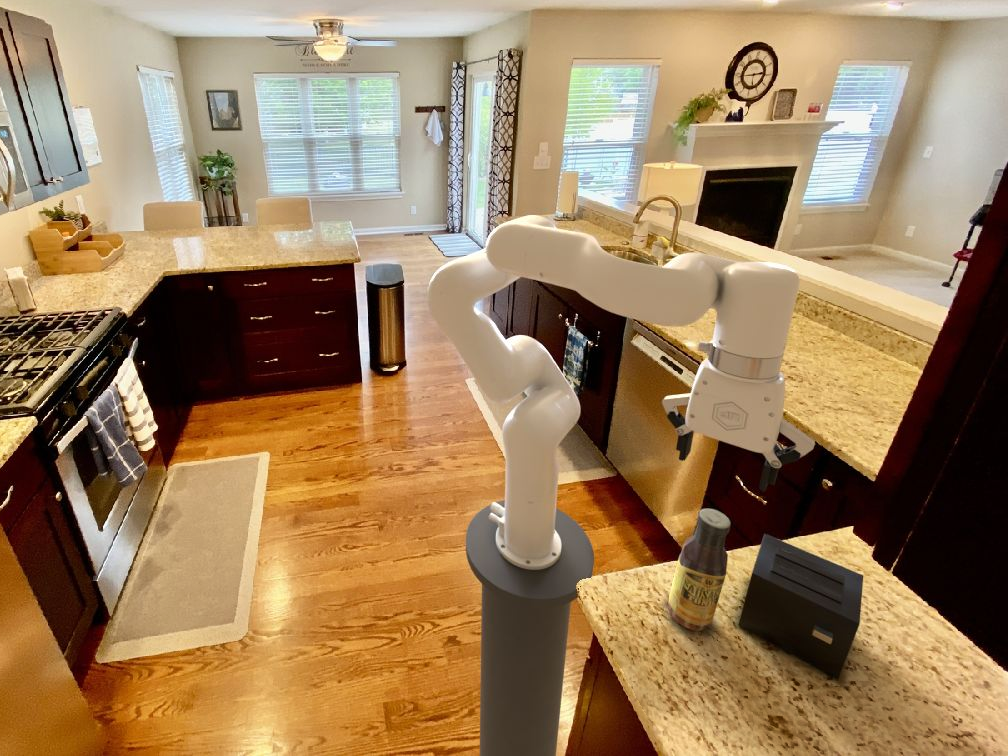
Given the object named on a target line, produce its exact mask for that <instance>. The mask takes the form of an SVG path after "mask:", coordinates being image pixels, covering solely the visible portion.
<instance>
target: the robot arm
mask: <svg viewBox="0 0 1008 756" xmlns="http://www.w3.org/2000/svg"><path fill="white" fill-rule="evenodd" d="M485 242H486V243H485V247H484V248H482V249H481V250H478V251H476V252H473V253H470V254H468V255H465V256H462V257H459V258H457V259H454V260H452V261H450V262H448V263H446V264H444V265H442V266H441V267H440V268H439V269H437V270H436V272H434V274H433V276H432V277H431V278H430V281H429V284H428V286H427V294H426V295H427V296H426V297H427V304H428V305H427V306H428V308H429V311H430V314H431V317H432V318H433V319H434V321H435V323H436V324H437V326H438V327H439V328H440V330H441V331H442V332H443V334H445V336H446V337H447V338H448V339H449V341H450V342H451V343H452V345H453V346H454V348H455V349H456V351H457V352H458V355H459V356H460V358H461V359H462V360H463V362H464V364H465V365H466V367H467V368H468V370H469V372H470V374H471V375H472V377H473V378H474V379H475V381H476V383H477V384H478V386H479V388H480V389H481V390H482V392H483V393H484V394H485V396H486V397H487V398H488V399H489V400H490V401H492V402H494V403H496V404H497V403H498V404H505V403H506V404H507V403H509V402H511V401H512V400H514V399H516V398H517V397H519V396H520V395H521V394H523V393H524V394H525V395H526V397H525V398H524V399H523V400H521V401H520V402H519V403H518V404H517V405H516V406H515V407H514V408H513V409H512V410H511V411H510V412H509V413H508V415H507V416H506V418H505V420H504V421H503V424H502V428H501V437H502V442H503V448H504V452H505V453H504V454H505V487H504V500H505V508H503V507H502V506H501V505H499V504H497V503H496V502H495V501H493V502H492V503H491V504H490V505H491V507H490V511H492V512H494V513H496V514H497V515H500V516H502V517H501V518H499V517H498V516H497V515H495V514H493V513H490V515H489V519H490V520H492V521H493V522H496V523H497V524H498V526H499V527H498V529H497V532H496V545H497V548H498V550H499V552H500V553H501V554H502V556H503V557H504V558H505V559H506V560H508V561H509V562H510V563H512V564H514V565H516V566H518V567H521V568H524V569H530V570H540V569H545V568H547V567H550V566H552V565H553V564H554V563H556V561H557V560H558V559H559V557H560V555H561V547H562V544H561V539H560V537H559V535H558V533H557V532H556V531H555V516H556V508H557V504H558V503H557V501H558V489H559V463H558V459H557V456H556V455H557V449H558V447H559V445H560V443H562V441H563V440H564V439H565V437H566V436H567V434H569V432H571V430H572V429H573V428H574V427H575V425H576V424H577V422H578V421H579V419H580V416H581V404H580V400H579V397H578V396H577V394H576V392H575V390H574V389H573V387H572V385H571V384H570V382H569V381H568V380H567V377H565V375H564V373H563V372H562V371H561V369H560V367H559V366H558V364H557V363H556V361H555V360H554V359H553V356H552V355H551V354H550V352H549V351H548V350H547V349H546V347H545V346H544V345H543V344H542V343H540V342H539V341H538V340H537V339H536V338H533V337H531V336H528V335H524V334H523V335H522V334H518V335H514V336H510V337H509V338H507V339H506V338H505V337H504V336H503V335H502V333H501V331H500V329H499V327H497V325H496V323H495V322H494V321H493V320H492V319H491V318H490V317H489V316H488V315H487V314H485V313H484V312H482V311H481V310H480V309H477V307H476V303H478V302H480V301H482V300H483V299H486V298H488V297H490V296H492V295H493V294H495V293H498V292H500V291H501V290H503V289H505V288H507V287H509V285H511V284H513V283H514V282H515V281H517V280H519V279H520V278H525V279H528V280H529V279H530V280H535V281H537V282H538V281H539V282H543V283H546V284H550V285H554V286H558V287H562V288H564V289H565V288H566V289H570V290H571V291H572V290H573V291H575V292H577V293H578V294H579V295H580V296H581V297H583V298H584V299H585V300H587V301H589V302H591V303H592V304H594V305H595V306H597V307H599V308H600V309H603V310H604V311H607V312H610V313H612V314H615V315H618V316H622V317H624V318H629V319H633V320H637V321H641V322H643V323H649V324H652V325H656V326H663V327H675V328H678V327H685V326H688V325H692V324H694V323H696V322H698V321H699V320H700V319H702V318H703V317H704V316H705V315H706V314H707V313H708V312H709V310H710V309H711V310H712V309H713V310H714V311H716V319H715V325H714V330H713V335H712V339H711V340H710V341H708V340H707V341H702V340H700V341H699V344H698V348H697V349H698V352H699V351H700V352H703V353H705V354H706V355H707V357H706V358H705V359H704V360H702V361H701V363H700V365H699V367H698V369H697V372H696V375H695V377H694V381H693V384H692V387H691V390H690V393H689V392H688V393H681V394H672V395H666V396H664V398H663V399H662V400H661V404H662V406H663V409H664V412H665V413H666V414H667V415H666V417H667V419H668V421H669V422H670V423H671V425H672V426H673V428H674V429H675V433H676V434H677V440H676V447H675V450H676V451H678V452H679V454H678V460H679V461H681V462H684V461H686V459H687V458H688V456H689V455H690V453H691V451H692V444H693V440H694V439H693V438H694V434H695V433H698V434H699V435H701V436H705V437H708V438H711V439H713V440H717V441H720V442H723V443H726V444H729V445H731V446H734V447H737V448H738V447H739V448H740V449H744V450H747V451H751V452H754V453H759V454H762V455H763V456H764V458H765V462H764V464H763V468H762V472H761V477H760V481H759V485H758V489H759V490H760V491H762V492H766V490H767V487H768V484H769V485H771V486H775V484H776V481H777V477H778V473H779V470H780V468H781V467H782V466H785V465H789V464H791V463H795V462H798V461H799V460H800V459H802V457H804V456H806V455H808V454H809V453H810V452H811V451H813V450H814V448H815V445H816V441H815V440H814V439H813V438H812V437H810V436H809V435H807V433H804V432H803V431H802V430H800V429H799V428H797V427H796V426H795V425H793V424H792V423H790V422H789V421H787V419H785V418H784V417H783V415H784V410H785V409H784V408H785V402H786V400H785V399H786V377H785V374H784V373H783V372H781V368H782V362H783V358H784V354H785V349H786V345H787V340H788V336H789V333H790V327H791V324H792V319H793V315H794V310H795V304H796V301H797V296H798V294H799V293H798V292H799V287H800V276H799V275H798V273H797V272H796V271H795V270H794V269H792V268H790V267H788V266H786V265H782V264H778V263H773V262H763V261H745V262H744V261H738V260H735V259H729V258H725V257H721V256H717V255H714V254H713V255H712V254H708V253H703V252H695V251H694V252H685V253H682V254H679V255H676V256H674V257H673V258H672V259H671V260H669V261H668V262H667V263H666V264H664V265H663V266H660V265H653V264H648V263H643V262H638V261H633V260H631V259H626V258H622V257H619V256H616V255H613V254H612V253H609V252H607V251H606V250H605V249H603V248H602V247H601V245H600V244H599V243H598V240H597V238H595V236H594V235H591V234H589V233H586V232H580V231H572V230H566V229H561V228H557V227H556V226H555V224H554V223H553V222H552V221H551V220H549V219H548V218H547V217H545V216H541V215H537V214H535V215H534V214H531V215H524V216H522V217H521V216H520V217H518V218H515V219H511V220H509V221H505V222H503V223H501V224H500V225H498V226H497V227H495V228H494V229H493V230H492V231H491V233H490V234H489V235H488V238H487V240H486V241H485ZM681 406H687V408H686V413H685V417H684V416H683V415H682V413H681V412H680V411H679V409H678V407H681ZM779 434H782V435H784V437H785V438H788V439H789V440H790V441H792V442H793V443H794V445H793V446H789V447H785V448H782V447H781V445H780V444H779V443H778V439H779Z"/></svg>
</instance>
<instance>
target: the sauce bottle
mask: <svg viewBox="0 0 1008 756" xmlns="http://www.w3.org/2000/svg"><path fill="white" fill-rule="evenodd" d="M696 521H697V526H696V529H695V531H694V535H691V536H689V537H688V538H687V539H685V541H683V544H682V548H681V552H680V554H679V556H678V560H677V562H676V563H677V564H676V567H675V571H674V574H673V575H674V576H673V579H672V582H671V587H670V590H669V595H668V612H669V613H670V616H671V617H672V618H673V619H674V620H675V621H676V623H678V624H679V625H681V626H683V628H686V629H688V630H690V631H691V630H692V631H694V632H696V631H697V632H700V631H704V630H706V629H708V628H709V627H710V624H711V623H712V622H713V620H714V618H715V617H714V616H715V613H716V610H717V606H718V602H719V600H720V597H721V592H722V589H723V586H724V582H725V579H726V576H727V568H728V559H729V558H728V557H729V555H728V553H727V550H726V548H725V544H726V543H725V542H726V538H727V535H728V534H729V533H730V530H731V520H730V519H729V517H727V516H726V514H724V513H722V512H721V511H719V510H718V509H714V508H702V509H701V510H700V511H699V512H698V515H697V517H696Z"/></svg>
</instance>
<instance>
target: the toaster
mask: <svg viewBox="0 0 1008 756" xmlns="http://www.w3.org/2000/svg"><path fill="white" fill-rule="evenodd" d="M863 586H864V575H863V574H861V573H858V572H856V571H854V570H852V569H850V568H847V567H844V566H843V565H841V564H840V565H839V564H837V563H835V562H833V561H830V560H828V559H826V558H823V557H821V556H818V555H816V554H815V553H812V552H809V551H807V550H804V549H802V548H799V547H797V546H795V545H793V544H790V543H788V542H786V541H783V540H781V539H778V538H776V537H774V536H772V535H769V534H768V533H767V534H766V533H764V534H763V537H762V540H761V543H760V547H759V550H758V552H757V555H756V559H755V562H754V565H753V568H752V571H751V575H750V579H749V582H748V586H747V591H746V594H745V597H744V602H743V606H742V609H741V612H740V617H739V620H738V624H737V625H738V627H740V628H742V629H743V630H746V631H747V632H749V633H751V634H753V635H755V636H757V637H758V638H760V639H761V640H764V641H766V642H768V643H769V644H771V645H773V646H774V647H776V648H779V649H780V650H782V651H784V652H786V653H788V654H790V655H791V656H793V657H795V658H797V659H799V660H800V661H803V662H804V663H806V664H808V665H810V666H811V667H814V668H815V669H817V670H819V671H821V672H822V673H825V674H826V675H828V676H830V677H832V678H834V679H835V680H837V681H839V680H840V676H841V675H842V672H843V669H844V666H845V664H846V661H847V658H848V656H849V654H850V650H851V648H852V646H853V643H854V640H855V638H856V635H857V632H858V629H859V627H860V624H861V614H862V613H861V611H862V600H863V599H862V598H863Z"/></svg>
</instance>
